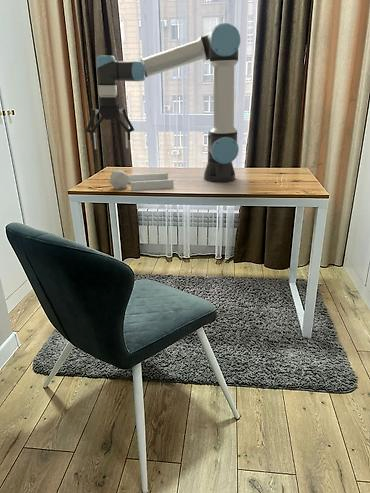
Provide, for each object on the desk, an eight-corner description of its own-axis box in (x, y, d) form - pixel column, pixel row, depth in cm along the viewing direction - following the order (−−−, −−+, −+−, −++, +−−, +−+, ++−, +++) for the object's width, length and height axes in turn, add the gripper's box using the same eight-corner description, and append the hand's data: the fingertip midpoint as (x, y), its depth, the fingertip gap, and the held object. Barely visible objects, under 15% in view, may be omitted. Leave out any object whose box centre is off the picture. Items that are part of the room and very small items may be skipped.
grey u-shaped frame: (167, 179, 193) (167, 172, 192) (173, 187, 180) (173, 179, 178) (128, 182, 189) (127, 175, 188) (131, 190, 176) (130, 182, 175)
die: (128, 192, 176) (134, 172, 177) (110, 184, 172) (117, 163, 174) (121, 194, 183) (128, 175, 185) (104, 187, 179) (111, 167, 181)
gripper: (137, 95, 172) (139, 146, 181) (77, 96, 167) (82, 147, 176) (138, 96, 166) (140, 148, 174) (76, 97, 161) (82, 150, 169)
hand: (111, 148), depth 175 cm, fingers open, 13 cm apart
